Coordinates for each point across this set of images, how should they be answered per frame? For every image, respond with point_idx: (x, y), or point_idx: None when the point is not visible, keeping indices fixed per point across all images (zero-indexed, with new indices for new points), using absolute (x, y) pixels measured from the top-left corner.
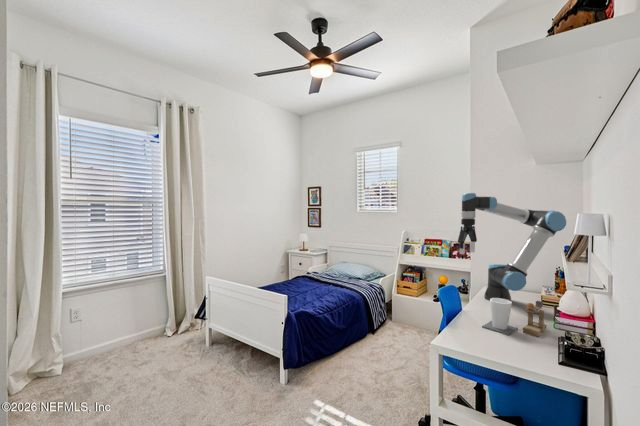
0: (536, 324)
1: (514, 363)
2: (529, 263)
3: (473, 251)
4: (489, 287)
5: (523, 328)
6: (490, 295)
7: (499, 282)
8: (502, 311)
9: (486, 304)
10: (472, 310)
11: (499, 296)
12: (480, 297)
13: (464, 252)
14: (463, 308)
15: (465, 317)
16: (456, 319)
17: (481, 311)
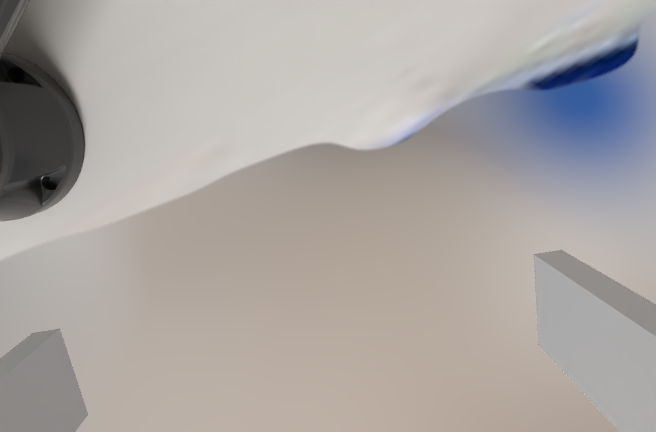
0: None
1: None
2: None
3: (54, 350)
4: (7, 176)
5: None
6: (61, 146)
7: (9, 37)
8: None
9: (184, 107)
10: (384, 78)
11: (31, 88)
12: (79, 218)
13: (558, 267)
14: (399, 129)
15: (543, 20)
16: (621, 25)
17: (351, 37)
